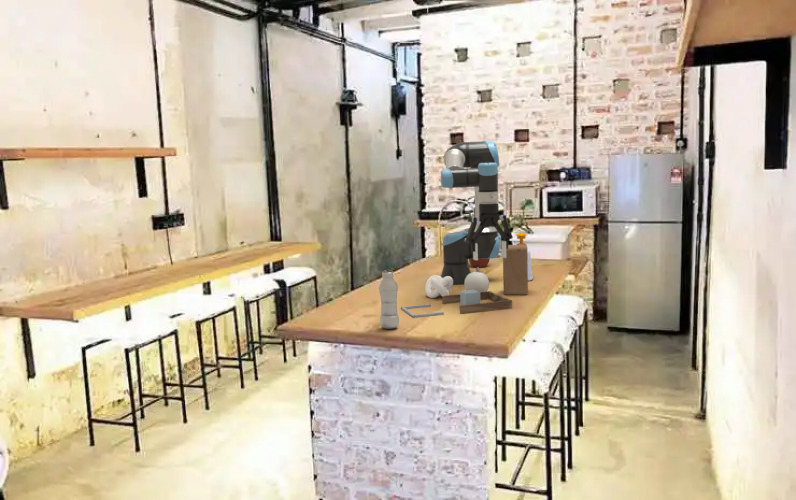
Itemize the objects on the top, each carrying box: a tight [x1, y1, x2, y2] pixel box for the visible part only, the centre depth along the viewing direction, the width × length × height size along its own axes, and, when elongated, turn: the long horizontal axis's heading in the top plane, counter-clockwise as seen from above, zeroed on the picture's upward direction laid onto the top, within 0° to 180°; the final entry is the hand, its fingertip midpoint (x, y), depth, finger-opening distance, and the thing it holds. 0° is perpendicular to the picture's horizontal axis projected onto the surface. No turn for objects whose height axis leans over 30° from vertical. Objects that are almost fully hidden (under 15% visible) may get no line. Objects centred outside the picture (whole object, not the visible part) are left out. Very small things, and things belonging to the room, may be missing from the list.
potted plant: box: [466, 206, 491, 268], centre depth 346 cm, size 17×16×35 cm
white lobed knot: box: [424, 274, 454, 299], centre depth 274 cm, size 11×12×9 cm
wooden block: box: [502, 244, 529, 296], centre depth 276 cm, size 10×10×20 cm
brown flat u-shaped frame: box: [441, 290, 513, 315], centre depth 256 cm, size 20×21×3 cm
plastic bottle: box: [378, 270, 400, 330], centre depth 226 cm, size 6×7×20 cm
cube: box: [459, 289, 481, 306], centre depth 255 cm, size 6×6×6 cm
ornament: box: [463, 267, 490, 292], centre depth 274 cm, size 10×10×12 cm
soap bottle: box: [515, 231, 533, 282], centre depth 307 cm, size 10×14×22 cm
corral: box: [400, 303, 445, 319], centre depth 250 cm, size 16×12×1 cm
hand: (489, 258), depth 256 cm, fingers open, 11 cm apart
